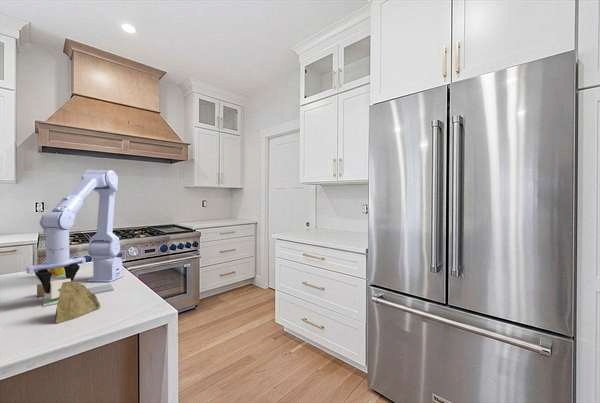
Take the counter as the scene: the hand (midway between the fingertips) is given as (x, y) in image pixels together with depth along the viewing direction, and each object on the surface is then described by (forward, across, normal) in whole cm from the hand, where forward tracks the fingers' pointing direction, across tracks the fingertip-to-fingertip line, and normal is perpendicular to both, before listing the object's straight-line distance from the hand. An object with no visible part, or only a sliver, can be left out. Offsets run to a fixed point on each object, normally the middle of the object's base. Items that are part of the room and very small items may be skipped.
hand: (58, 290), depth 88 cm
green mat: (+3, 0, 0) cm, 3 cm away
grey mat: (+3, -12, +1) cm, 12 cm away
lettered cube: (+2, 0, 0) cm, 2 cm away
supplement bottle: (+4, -12, -32) cm, 34 cm away
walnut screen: (+3, -2, -9) cm, 10 cm away
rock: (+4, +2, +17) cm, 18 cm away
